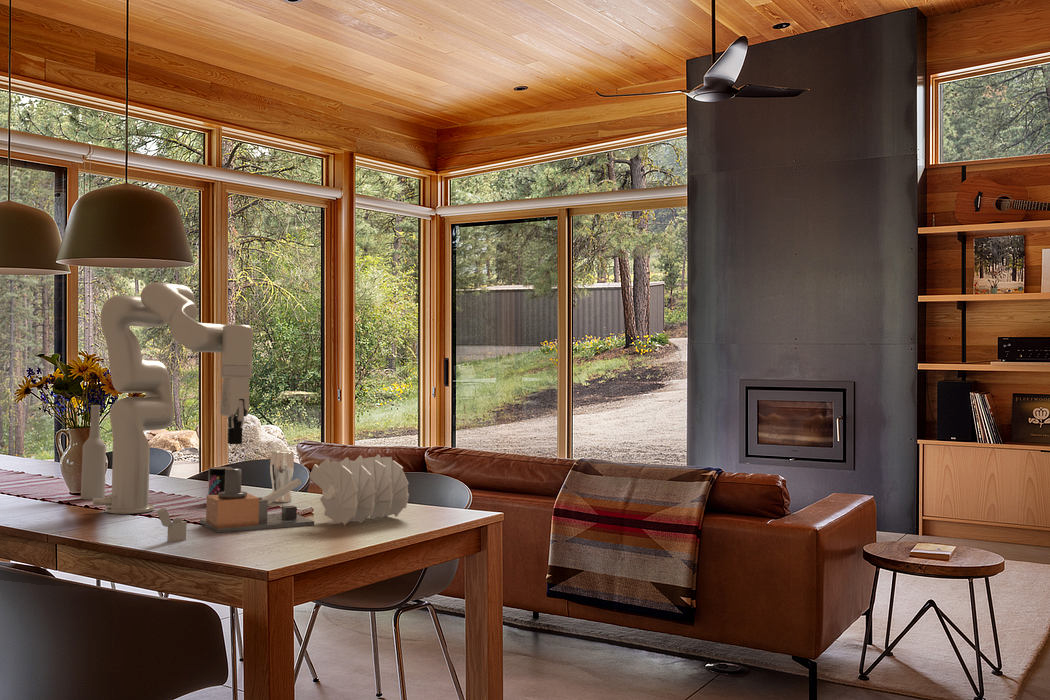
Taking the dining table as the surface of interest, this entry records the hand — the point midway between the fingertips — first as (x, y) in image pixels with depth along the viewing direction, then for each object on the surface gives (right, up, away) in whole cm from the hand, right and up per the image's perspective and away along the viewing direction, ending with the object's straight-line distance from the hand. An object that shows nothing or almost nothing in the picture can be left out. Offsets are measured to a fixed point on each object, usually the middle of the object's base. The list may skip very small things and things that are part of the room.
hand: (234, 443), depth 238 cm
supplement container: (-16, -22, +38) cm, 47 cm away
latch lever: (+10, -14, +7) cm, 19 cm away
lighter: (-8, -21, -22) cm, 31 cm away
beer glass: (0, -22, +43) cm, 49 cm away
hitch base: (+4, -21, +3) cm, 22 cm away
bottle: (-56, -21, +42) cm, 73 cm away
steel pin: (-1, -20, 0) cm, 20 cm away
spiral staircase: (+31, -22, +12) cm, 40 cm away
